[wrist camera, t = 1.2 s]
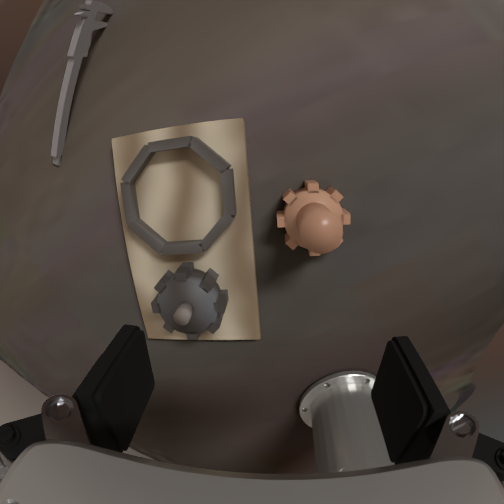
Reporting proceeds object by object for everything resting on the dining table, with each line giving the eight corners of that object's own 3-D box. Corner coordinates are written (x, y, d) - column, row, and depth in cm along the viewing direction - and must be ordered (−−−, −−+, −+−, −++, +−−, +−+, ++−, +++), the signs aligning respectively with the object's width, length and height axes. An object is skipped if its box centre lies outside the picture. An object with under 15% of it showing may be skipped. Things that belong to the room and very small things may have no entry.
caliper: (108, 11, 24) (82, -7, 18) (115, 11, 24) (90, -7, 18) (55, 164, 31) (22, 169, 25) (61, 166, 31) (28, 172, 25)
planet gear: (342, 179, 29) (363, 188, 22) (343, 244, 31) (362, 271, 24) (274, 181, 30) (275, 191, 23) (278, 247, 32) (280, 276, 25)
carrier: (244, 119, 28) (236, 110, 22) (260, 333, 35) (258, 366, 29) (116, 139, 29) (86, 138, 23) (151, 333, 37) (133, 362, 31)
